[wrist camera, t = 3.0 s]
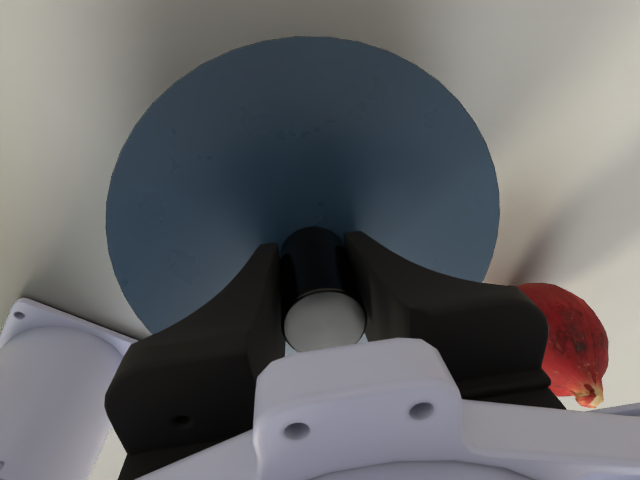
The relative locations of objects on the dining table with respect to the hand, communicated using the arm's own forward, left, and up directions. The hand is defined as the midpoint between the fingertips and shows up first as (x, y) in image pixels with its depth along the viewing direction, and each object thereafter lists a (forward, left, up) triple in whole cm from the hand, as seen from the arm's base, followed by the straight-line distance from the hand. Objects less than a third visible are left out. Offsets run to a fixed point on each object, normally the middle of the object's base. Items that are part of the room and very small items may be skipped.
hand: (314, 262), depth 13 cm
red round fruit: (+1, -15, -7) cm, 17 cm away
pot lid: (0, 0, -1) cm, 1 cm away
